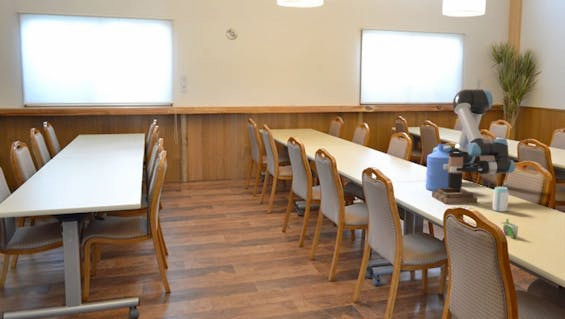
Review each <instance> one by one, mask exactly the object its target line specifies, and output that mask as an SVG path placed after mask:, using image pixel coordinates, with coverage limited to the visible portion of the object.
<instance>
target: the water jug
mask: <svg viewBox="0 0 565 319" xmlns="http://www.w3.org/2000/svg"><path fill="white" fill-rule="evenodd" d="M437 144H438V145H437V147H438V151H436V152H434V153H433V152H432V153H430V154H428V155H427V156H426V157H427V158H426V178H425V179H426V180H425V183H426V184H425V190H428V191H430V192H435V191H436V189H442V188H448V169H444V164H449V153H447V152H445V151H444V150H443V148H444V147H443V146H445V144H444V143H437Z"/></svg>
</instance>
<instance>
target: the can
mask: <svg viewBox="0 0 565 319" xmlns="http://www.w3.org/2000/svg"><path fill="white" fill-rule="evenodd" d="M508 204H509V190H508V187H505V186H495V187H494V189H493V195H492V208H491V209H492V211H494V212H498V213H505V212H506V211H508V207H509V206H508Z"/></svg>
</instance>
